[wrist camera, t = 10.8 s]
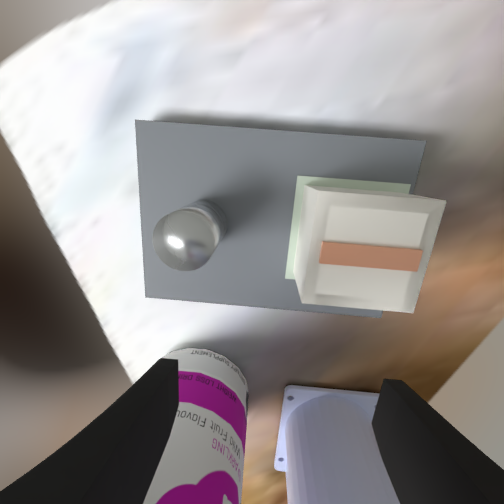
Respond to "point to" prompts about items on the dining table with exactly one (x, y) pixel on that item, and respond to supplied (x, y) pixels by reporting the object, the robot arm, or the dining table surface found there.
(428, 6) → the dining table surface
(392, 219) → the white cube with stripe
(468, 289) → the dining table surface
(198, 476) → the supplement can
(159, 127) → the board
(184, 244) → the post
